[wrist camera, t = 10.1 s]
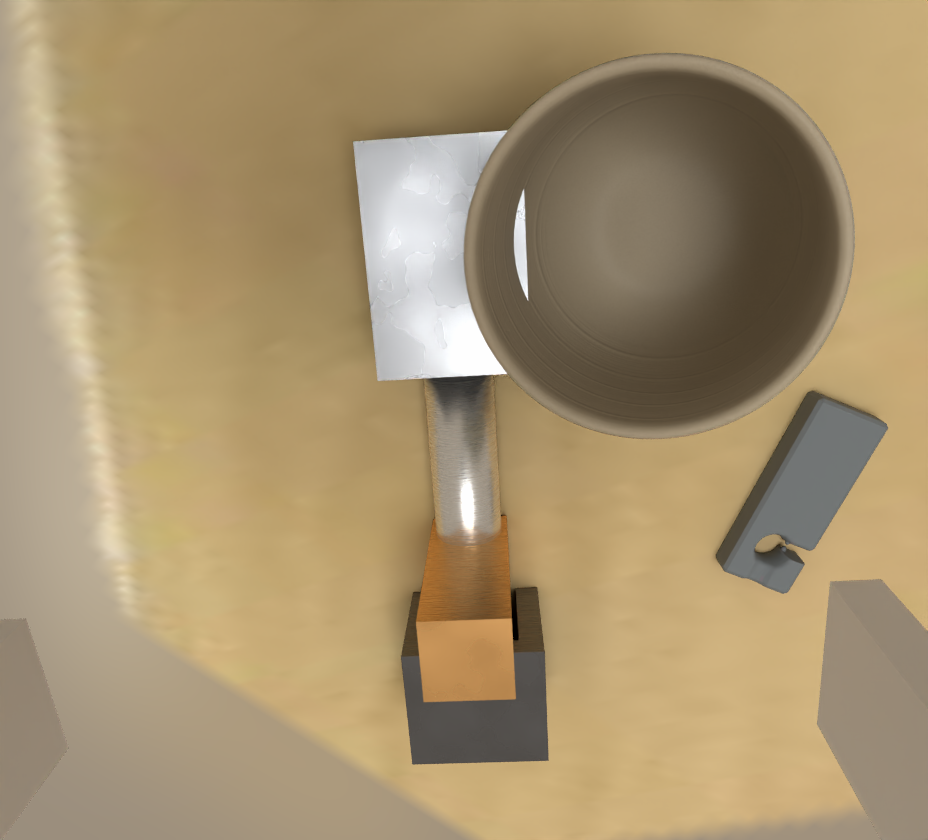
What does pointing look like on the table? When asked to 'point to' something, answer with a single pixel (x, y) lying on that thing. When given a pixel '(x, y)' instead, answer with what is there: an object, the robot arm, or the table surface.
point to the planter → (660, 246)
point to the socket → (482, 703)
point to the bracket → (800, 489)
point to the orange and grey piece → (465, 551)
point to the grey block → (425, 252)
